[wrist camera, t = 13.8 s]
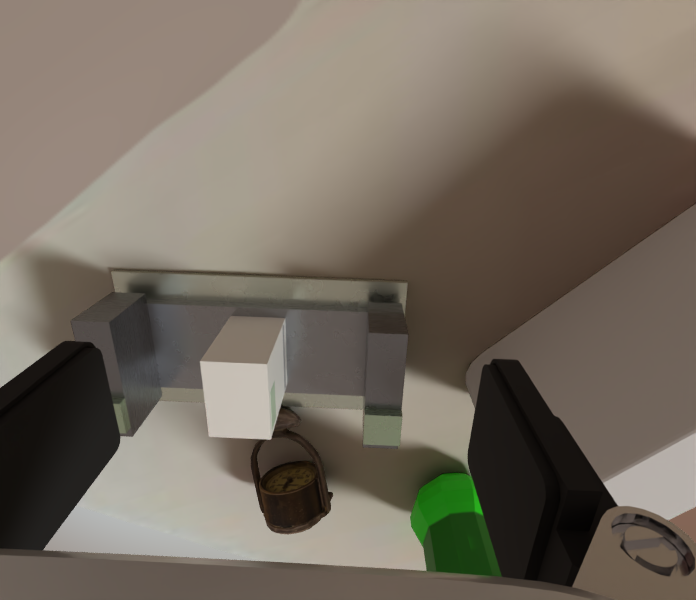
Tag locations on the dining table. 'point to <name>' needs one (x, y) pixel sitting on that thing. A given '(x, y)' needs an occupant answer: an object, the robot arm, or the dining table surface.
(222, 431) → the block
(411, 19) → the dining table surface
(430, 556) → the plastic bottle
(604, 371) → the rounded white slab
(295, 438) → the brown antique clock
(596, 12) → the dining table surface
